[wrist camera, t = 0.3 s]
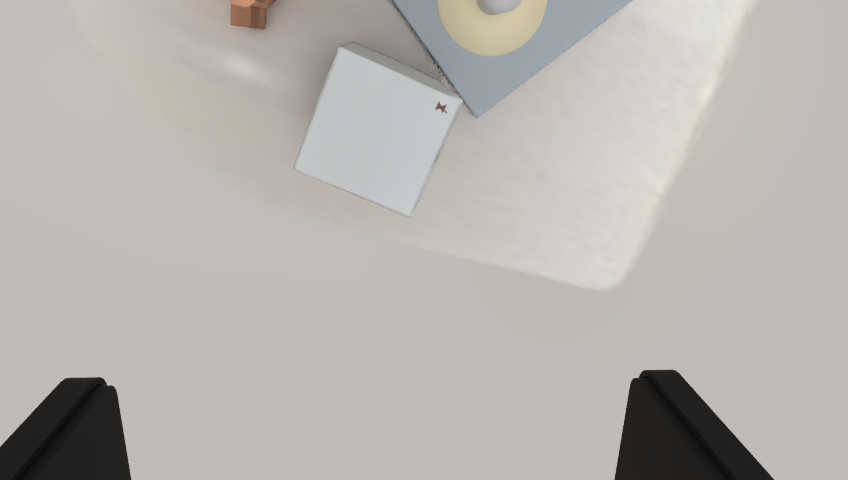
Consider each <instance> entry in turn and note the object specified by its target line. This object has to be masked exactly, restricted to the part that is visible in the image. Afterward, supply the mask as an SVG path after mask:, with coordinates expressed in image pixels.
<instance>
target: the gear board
mask: <svg viewBox="0 0 848 480" xmlns="http://www.w3.org/2000/svg"><path fill="white" fill-rule="evenodd" d="M631 1H632V0H393V2H394V3H395V5H396V6H397V7H398V9H399V10H400V12H401V13H402V15H403V16H404V17H405V19H406V20H407V22H408V23H409V24H410V26H411V27H412V29H413V30H414V31H415V33H416V34H417V36H418V37H419V39H420V40H421V41H422V43H423V44H424V46H425V47H426V48H427V50H428V51H429V53H430V54H431V55H432V57H433V58H434V60H435V61H436V63H437V64H438V65H439V67H440V68H441V70H442V71H443V72H444V74H445V75H446V77H447V78H448V79H449V81H450V82H451V84H452V85H453V87H454V88H455V89H456V91H457V92H458V94H459V95H460V96H461V98H462V99H463V101H464V102H465V103H466V105H467V106H468V108H469V109H470V111H471V112H472V113H473V115H474V116H475V117H476V118H478V117H479V116H480V115H482V114H483V113H484V112H486V111H487V110H488V109H490V108H491V107H492V106H493V105H495V104H496V103H497V102H499V101H500V100H501V99H503V98H504V97H505V96H507V95H508V94H509V93H511V92H512V91H513V90H515V89H516V88H517V87H519V86H520V85H521V84H523V83H524V82H525V81H527V80H528V79H529V78H530V77H532V76H533V75H534V74H536V73H537V72H538V71H540V70H541V69H542V68H544V67H545V66H546V65H548V64H549V63H550V62H552V61H553V60H554V59H556V58H557V57H558V56H560V55H561V54H562V53H564V52H565V51H566V50H567V49H569V48H570V47H571V46H573V45H574V44H575V43H577V42H578V41H579V40H581V39H582V38H583V37H585V36H586V35H587V34H589V33H590V32H591V31H593V30H594V29H595V28H597V27H598V26H599V25H600V24H602V23H603V22H604V21H606V20H607V19H608V18H610V17H611V16H612V15H614V14H615V13H616V12H618V11H619V10H620V9H622V8H623V7H624V6H626V5H627V4H628V3H630V2H631Z"/></svg>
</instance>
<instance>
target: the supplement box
mask: <svg viewBox="0 0 848 480" xmlns="http://www.w3.org/2000/svg"><path fill="white" fill-rule="evenodd" d="M462 104H463V99H462V98H461V97H459V96H458V95H457V94H456V93H454V92H453V91H452V90H451V89H450V88H448V87H447V86H446V85H445V84H443V83H442V82H440V81H438V80H436V79H434V78H432V77H430V76H428V75H426V74H424V73H422V72H420V71H418V70H416V69H414V68H412V67H410V66H408V65H405V64H403V63H401V62H399V61H397V60H395V59H392V58H390V57H388V56H386V55H383V54H381V53H379V52H376V51H374V50H372V49H369V48H367V47H365V46H363V45H360V44H358V43H356V42H351V43H349V44H346V45H344V46H342V47H339V49H338V51H337V53H336V55H335V58H334V60H333V62H332V65H331V67H330V70H329V72H328V75H327V77H326V80H325V82H324V85H323V87H322V90H321V92H320V95H319V98H318V100H317V103H316V106H315V108H314V111H313V114H312V116H311V119H310V122H309V125H308V128H307V130H306V133H305V136H304V139H303V141H302V144H301V147H300V150H299V153H298V156H297V159H296V162H295V165H294V170H296V171H299V172H302V173H304V174H306V175H309V176H311V177H314V178H316V179H319V180H321V181H324V182H326V183H329V184H331V185H333V186H336V187H338V188H340V189H342V190H345V191H347V192H349V193H352V194H354V195H356V196H359V197H361V198H363V199H366V200H368V201H370V202H373V203H375V204H377V205H379V206H382V207H384V208H386V209H389V210H391V211H393V212H396V213H398V214H400V215H403V216H405V217H411V216H412V214H413V212H414V210H415V208H416V206H417V203H418V201H419V199H420V197H421V194H422V192H423V190H424V188H425V186H426V183H427V181H428V179H429V177H430V174H431V172H432V170H433V168H434V166H435V164H436V162H437V160H438V158H439V156H440V153H441V150H442V148H443V145H444V143H445V141H446V139H447V136H448V134H449V132H450V130H451V128H452V126H453V123H454V121H455V119H456V117H457V114H458V112H459V110H460V108H461V106H462Z"/></svg>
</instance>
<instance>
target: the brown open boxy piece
mask: <svg viewBox="0 0 848 480" xmlns="http://www.w3.org/2000/svg"><path fill="white" fill-rule="evenodd" d="M230 1H231V2H232V3H233V4H231V24H230V25H235V26H241V27H248V28H260V29H265V22H266V11H265V9H266V8H267V7H269V6H270V5H271V4H272V3H273V2H275V1H276V0H230Z"/></svg>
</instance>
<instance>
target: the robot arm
mask: <svg viewBox="0 0 848 480" xmlns="http://www.w3.org/2000/svg"><path fill="white" fill-rule="evenodd" d="M0 480H131V476H130V469H129V463H128V457H127V451H126V445H125V440H124V433H123V427H122V420H121V414H120V408H119V402H118V396H117V392H116V389H115V387H114V386H107V384H106V382H105V380H104V379H103V378H100V377H98V378H66V379H64V380H63V381H62V382H60V384H58V386H57V387H56V388H55V389H54V390H53V391H52V392H51V393H50V394H49V395H48V396H47V397H46V398H45V399H44V401H43V402H42V403H41V404H40V405H39V406H38V407H37V408H36V409H35V410H34V411H33V412H32V414H31V415H30V416H29V417H28V418H27V419H26V420H25V421H24V422H23V423H22V424H21V425H20V426H19V427H18V428H17V430H16V431H15V432H14V433H13V434H12V435H11V436H10V437H9V438H8V439H7V440H6V441H5V442H4V444H3V445H2V446H1V447H0ZM615 480H774V479H773V478H772V477H771V476H770V475H769V473H768V472H767V471H766V470H765V469H764V468H763V467H762V466H761V464H760V463H759V462H758V461H757V460H756V459H755V458H754V457H753V455H752V454H751V453H750V452H749V451H748V450H747V449H746V448H745V447H744V446H743V444H742V443H741V442H740V441H739V440H738V439H737V438H736V436H735V435H734V434H733V433H732V432H731V431H730V430H729V429H728V428H727V426H726V425H725V424H724V423H723V422H722V421H721V420H720V419H719V418H718V417H717V415H716V414H715V413H714V412H713V411H712V410H711V409H710V407H709V406H708V405H707V404H706V403H705V402H704V401H703V400H702V399H701V397H700V396H699V395H698V394H697V393H696V392H695V391H694V389H693V388H692V387H691V386H690V385H689V384H688V383H687V382H686V381H685V380H684V378H683V377H682V376H681V375H680V374H679V373H678V372H677V371H675V370H644V371H642V373H641V374H640V376H639V378H634V379H633V380H632V382H631V384H630V389H629V396H628V402H627V408H626V414H625V420H624V426H623V432H622V439H621V444H620V450H619V457H618V462H617V468H616V474H615Z"/></svg>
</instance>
